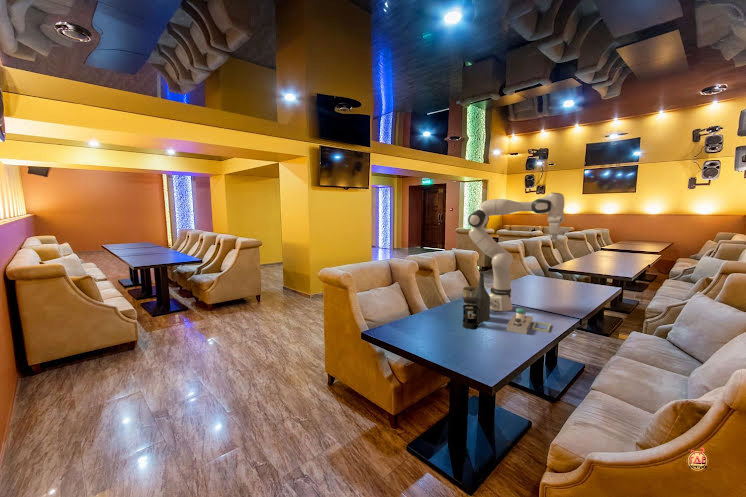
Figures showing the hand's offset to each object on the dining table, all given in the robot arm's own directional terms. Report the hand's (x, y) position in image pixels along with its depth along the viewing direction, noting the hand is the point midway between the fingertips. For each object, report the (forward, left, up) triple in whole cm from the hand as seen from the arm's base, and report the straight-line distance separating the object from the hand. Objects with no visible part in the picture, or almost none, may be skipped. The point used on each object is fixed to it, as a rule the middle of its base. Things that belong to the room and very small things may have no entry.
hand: (554, 241), depth 201 cm
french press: (-38, -46, -48) cm, 76 cm away
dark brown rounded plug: (-13, -43, -43) cm, 63 cm away
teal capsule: (-13, -36, -46) cm, 60 cm away
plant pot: (-45, -18, -48) cm, 68 cm away
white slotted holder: (-13, -36, -48) cm, 61 cm away
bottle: (-36, -33, -48) cm, 68 cm away
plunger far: (-13, -28, -43) cm, 53 cm away
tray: (-2, -32, -48) cm, 58 cm away
